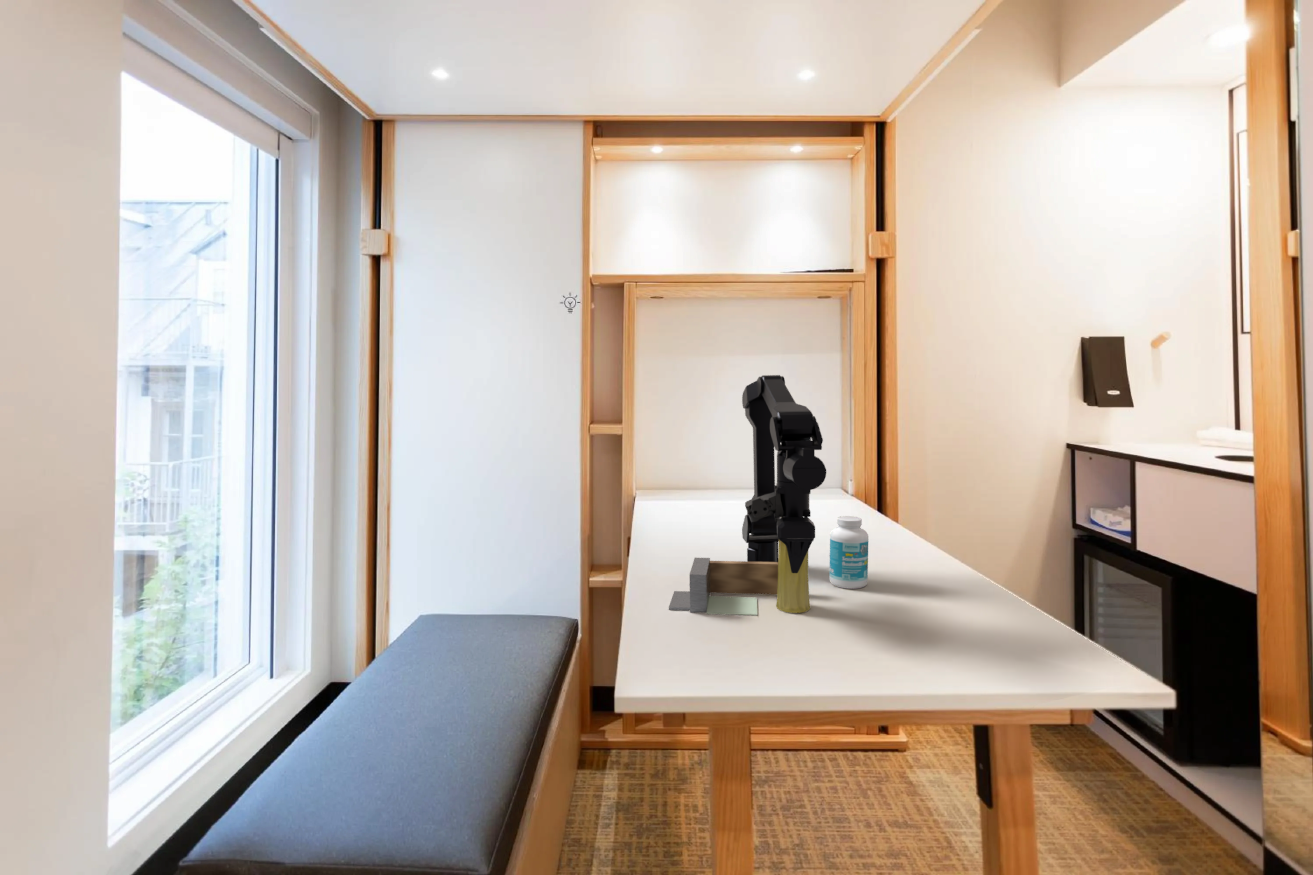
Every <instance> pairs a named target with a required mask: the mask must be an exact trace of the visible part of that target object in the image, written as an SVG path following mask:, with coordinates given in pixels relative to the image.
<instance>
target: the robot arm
mask: <svg viewBox="0 0 1313 875" xmlns="http://www.w3.org/2000/svg"><path fill="white" fill-rule="evenodd" d="M741 396H742V397H741V400H742V401H741V403H742V408H743V409H744V411H745V412H744V414H745V418H746V419H747V421H748V423H749V424H750V425H751V427H752V433H753V434H752V437H753V438H752V443H753V448H752V450H753V490H754V492H753V496H752V497H751V499H749V500H746V502H745V503H744V506H745V509H746V514H745V515H744V518H743V523H742V527H741V531H742V532H741V533H742V534H741V537H742V539H743V541H744V542H745V543H746V544H747V548H746V550H747V551H746V554H747V556H746V557H747V558H746V560H747V562H778V552H779V540H780V541H782V542H783V543H784V544H785V545H786V547H787V552H788V557H789V562H790V567H791V572H792V573H798V572H799V569H800V567H801V565H802V563H803V560H804V558H805V556H806V554H807V552H808V553H809V550H810V547H811V545H812V543H813V542H814V540H815V539H816V525H815V523H814V521H812V519H811V510H810V495H811V490H815V489H817V488H819V487H820V486H821V485H823V483H824V481H825V479H826V477H827V468H826V466H825V463H824V462H823V461H822V459H820V458H819V457H818V456H816V454H815V451H821V450H822V449H823V442H824V438H823V435H822V432H821V429H820V426H819V422H818V421H817V418H816V416H814V414H813V413H812V411H811V410H810V409H809V408H808V407H807V406H805V405H802V404H798V403H796V401H795V399H794V397H793V395H792V394H791V391H790V390H789V389H788V387H787V386H786V381H785V377H784V376H783V375H780V374H772V375H771V374H770V375H769V374H767V375H766V374H765V375H761V376H758V378H757V379H756V380H755V381H753V382H751V383H750V384H748V385H745V388H744V390H743V392H742V395H741ZM775 451H777V452H776V463H775ZM775 464H776V469H775ZM775 470H776V471H775ZM775 473H776V474H775ZM775 475H776V476H775Z"/></svg>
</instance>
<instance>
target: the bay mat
mask: <svg viewBox="0 0 1313 875" xmlns="http://www.w3.org/2000/svg"><path fill="white" fill-rule="evenodd" d="M705 614H706V615H724V616H725V615H728V616H729V615H731V616H732V615H734V616H758V597H757V596H756V597H755V596H753V597H751V596H724V595H723V596H722V595H719V596H717V595H716V596H715V595H710V597H709V602H708V608H707V612H706V613H705Z"/></svg>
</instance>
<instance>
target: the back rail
mask: <svg viewBox="0 0 1313 875" xmlns="http://www.w3.org/2000/svg"><path fill="white" fill-rule="evenodd" d="M777 588H778V562H747V561H742V560H738V561H737V560H710V594H740V595H741V594H742V595H749V594H750V595H775V596H777Z"/></svg>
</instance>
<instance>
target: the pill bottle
mask: <svg viewBox="0 0 1313 875" xmlns="http://www.w3.org/2000/svg"><path fill="white" fill-rule="evenodd" d="M862 522H863V521H862V518H860V517H858V516H854V515H852V516H851V515H841V516H838V517H837V519H836V524H837V527H834V528H833V529H832V530H831V531H830V534H829V571H828V572H829V573H828V574H829V582H830V583H831V584H832V585H833V586H835V587H838V588H841V589H852V590H853V589H854V590H855V589H862V588H864V587H866V585H868V580H869V578H868V573H869V534H868V532H867V531H866V530H865V529H863V528H862V527H861V526H862V525H863V524H862Z"/></svg>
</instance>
